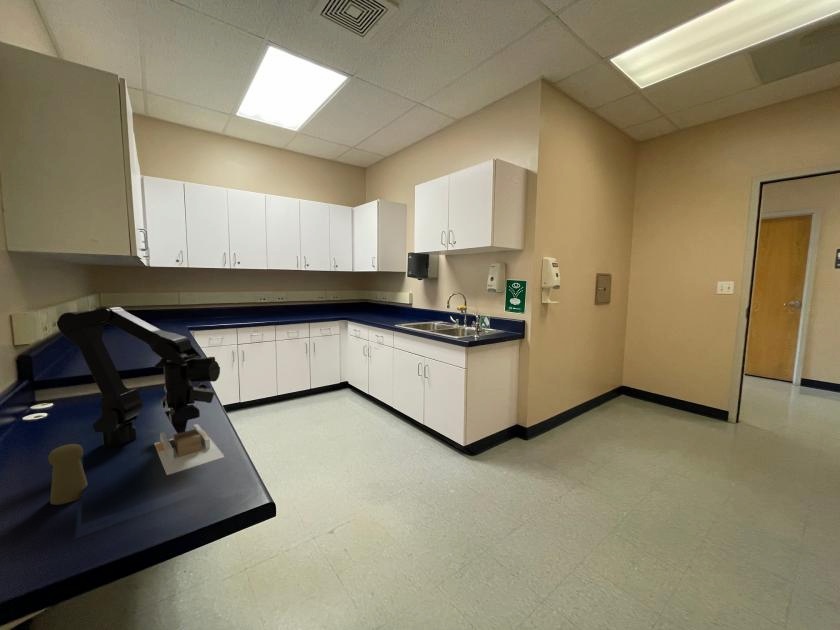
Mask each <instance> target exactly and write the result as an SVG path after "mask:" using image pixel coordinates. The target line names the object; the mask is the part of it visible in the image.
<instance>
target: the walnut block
mask: <svg viewBox="0 0 840 630" xmlns="http://www.w3.org/2000/svg"><path fill="white" fill-rule="evenodd" d="M173 438H174V440H173V448H174V449H175V451H176V453H177V455H178V457H181V456H184V455H188V454H191V453H195V452H198V451H201V437H200V435H199V433H198V432H197V431H196V429H194V428H193V429H190V430H185V432H182V433H178V434H177V433H175V434H173Z"/></svg>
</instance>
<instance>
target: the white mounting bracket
mask: <svg viewBox="0 0 840 630" xmlns="http://www.w3.org/2000/svg"><path fill="white" fill-rule="evenodd" d="M194 429H196V431H197V432H198V433H199V435H200V437H201V451H198V452H195V453H191V454H188V455H184V456H181V457H178V455H177V453H176V451H175V449H174V447H173V445H172V444H171V442H170V441H174V437H173V438H168V436H167V434H166V432H165V431H162V432H160V433H159V435H160V436H159V437H160V438H159V439H160V441H157V442H155V443H153V444H154V447H155V449H156V452H157V454H158V456H159V459H160V462H161V465H162V466H163V469H164V471H165V474H166V476H169V475H172V474H175V473H178V472H182V471H185V470H188V469H192V468H195V467H197V466H200V465H204V464H207V463H210V462H213V461H216V460H219V459H223V458H225V455H224V454H223V453H222V451H221V450H220V448H219V447H217V446H218V445H216V443H215V442H214V441H213V440H212V439H211V437H209V435H208V434H207V432H206V431H205V430H203V428H202V427H201V426H200V425H199V424H198V423H196V424H193V430H194Z"/></svg>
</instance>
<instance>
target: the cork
mask: <svg viewBox="0 0 840 630" xmlns="http://www.w3.org/2000/svg"><path fill="white" fill-rule="evenodd" d="M83 455H84V449H83V446H82V445H80V444H77V443H70V444H66V445H65V444H64V445H61V446H59V447H56V448H54V449H52V450H51V451H50V452H49V454H48V457H47V458H48V459H47V460H48V463H49V465H52V475H51V485H50V486H51V487H50V500H49V503H50V504H51V505H56V506H58V505H65V504H68V503H72V502H74V501H77V500H79V499H81V498H83V493H84V492H83V490H84V489H85V488H87V487H88V485H89V483H88V480H87V477H86V474H85V471H84V466H83V464H82V460H81V458H82V457H83Z"/></svg>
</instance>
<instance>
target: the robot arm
mask: <svg viewBox="0 0 840 630" xmlns="http://www.w3.org/2000/svg"><path fill="white" fill-rule="evenodd" d="M106 324H108V325H111V326H113V327H115V328H116V329H118V330H121V331H122V332H125V333H126V334H128V335H130V336H132V337H133V338H136V339H138V340H139V341H141V342H143V343H145V344H147V345H148V346H149V347H150V349H151V351H152V352H153V353H154V354H156V355H157V356H158V357H159V358H161V359H160V360H159V362H157V363H156V364H155V365H154V368H158V369H161V368H163V376H164V377H163V378H164V386H163V389H164V392H165V395H164V396H163V397H162V398H161V399H160V402H161V403H160V405H161V406H160V407H162V409H164V408H166V407H167V408H168V410H166V411H165V412H164V413H165V415H166V417H167V419H168V421H169V422H170V424H171V425H172V427H173V428H174V430H175V432H176V434H178V433H182V432H186V431H187V430H186V429H187V425H188V421H189V420H194V419H198V418H200V416H201V415H200V409H199V408H198V407H197V406H196V405H195V403H196V402H203V403H207V404H212V402H213V399H214V397H215V391H214V390H213V389H211V388H209V387H207V385H206V384H205V383H210V382H212V383H215V382H217V380H218V379H219V377H220V374H221V366H220V365H219V363H218V362H217V361H216V357H215V356H207V357H202V355H200V353H199V352H198V351H197V350H196V349H195V347H194V346H193V345H192V343H191V340H190V339H189V338H188V337H187V336H184V335H181V334H178V333H175V332H170V331H165V330H162V329H160V328H158V327H156V326H155V325H153V324H150V323H148V322H146V321H145V320H144V319H143V320H142V319H141V318H139V317H137V316H135V315H133V314H131V313H129V312H128V311H126V310H125V309H123V308H122V307H120V306H116V305H115V306H105V307H104V306H103V307H101V308H98V309H94V310H84V311H83V310H81V311H71V312H64V313H62V314H61V315H59V317H58V320H56V326H57V329H58V330H59V332H61V334H62V335H63V337H64V338H65V339H66V340H68V341H69V342H70V343H72V344H74V345H75V346H77V347H78V349H79V351H80V353H81V355H82V358H83V359H84V361H85V363H86V365H87V368H88V369H89V371H90V373H91V375H92V378H93V380H94V381H95V384H96V385H97V388H98V389H99V391H100V393H101V400H100V405H99V406H100V407H99V408H100V412H101V416H100V417H99V418H98V419H97V420H96V421H95V422H94V423H93V424H92V428H93V430H94V432H95V433H102V441H103V442H102V443H103V448H104V449H106V448H114V447H119V446H124V445H125V444H129V443H130V442H133V441H136V440H137V431H136V427H135V425H133V422H134V421H136V420H138V418H139V415H140V413H141V412H142V410H143V407H144V406H143V402H144V400H143V398H142V397H141V396H140V393H139V390H138V389H137V388H134V389H132V390H131V389H130V388H128V387H126V386H125V384H124V382H123V380H122V379H121V376H120V374H119V372H118V369H117V368H116V365H115V363H114V362H113V360H112V357H111V355H110V353H109V351H108V349H107V347H106V346H105V343H104V341H103V335H104V330H105V328H104V325H106ZM191 382H192V383H198V384H197V386H193V384H192V383H191Z"/></svg>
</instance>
